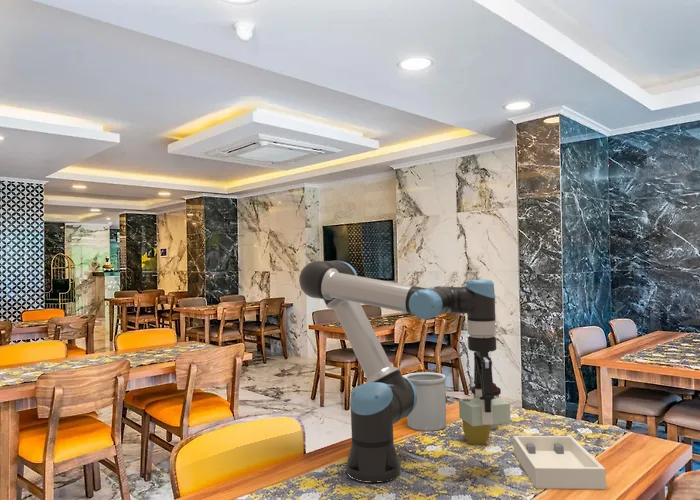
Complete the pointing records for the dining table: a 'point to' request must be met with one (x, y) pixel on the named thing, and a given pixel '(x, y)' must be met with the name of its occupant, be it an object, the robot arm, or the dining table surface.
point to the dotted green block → (473, 411)
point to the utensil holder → (428, 401)
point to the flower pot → (476, 433)
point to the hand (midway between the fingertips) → (484, 417)
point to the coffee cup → (496, 394)
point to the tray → (558, 463)
